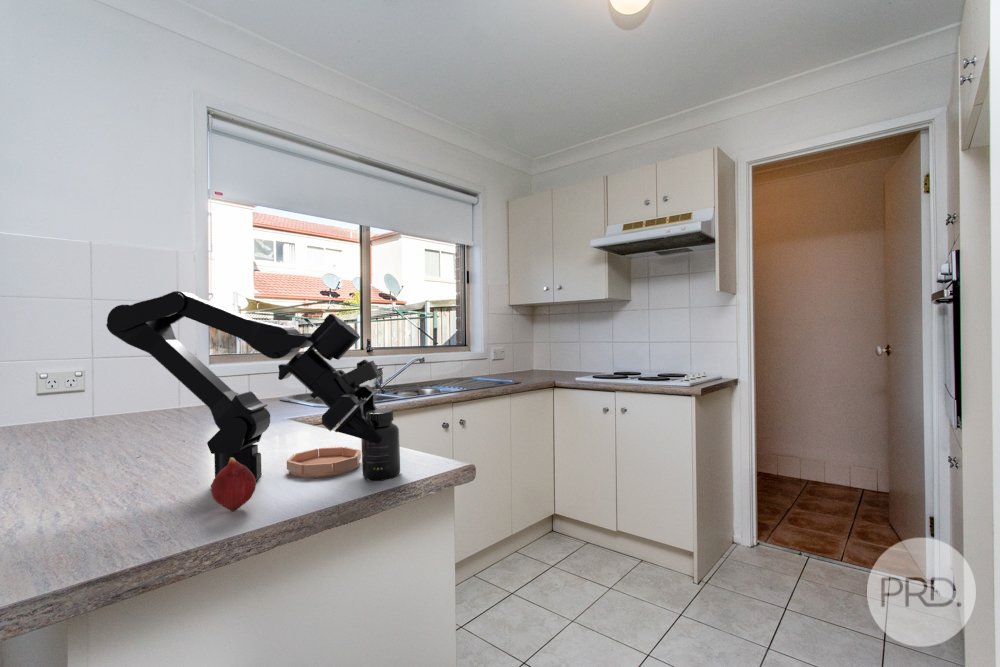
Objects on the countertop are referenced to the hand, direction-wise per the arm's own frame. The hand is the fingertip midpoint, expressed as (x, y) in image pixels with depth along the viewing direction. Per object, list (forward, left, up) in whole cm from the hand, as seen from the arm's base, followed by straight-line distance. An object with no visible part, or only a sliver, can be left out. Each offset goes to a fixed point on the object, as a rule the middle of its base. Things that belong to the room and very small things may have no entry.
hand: (384, 435), depth 88 cm
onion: (-21, -13, -7) cm, 26 cm away
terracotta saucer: (-12, +8, -7) cm, 16 cm away
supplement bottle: (-1, 0, -7) cm, 8 cm away
